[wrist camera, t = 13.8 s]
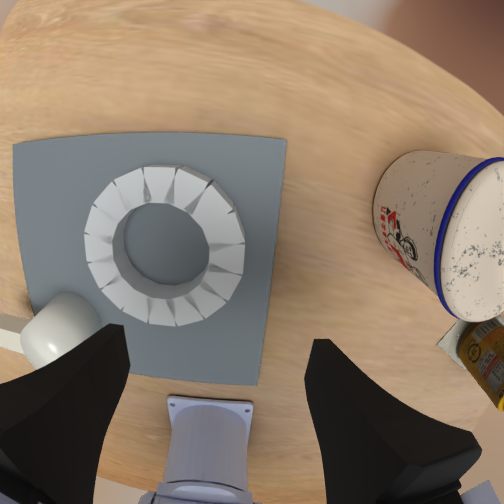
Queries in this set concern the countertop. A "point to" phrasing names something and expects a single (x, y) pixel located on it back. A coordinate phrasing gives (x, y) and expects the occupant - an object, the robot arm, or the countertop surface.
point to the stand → (157, 242)
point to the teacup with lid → (447, 227)
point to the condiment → (480, 353)
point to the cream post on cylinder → (50, 329)
